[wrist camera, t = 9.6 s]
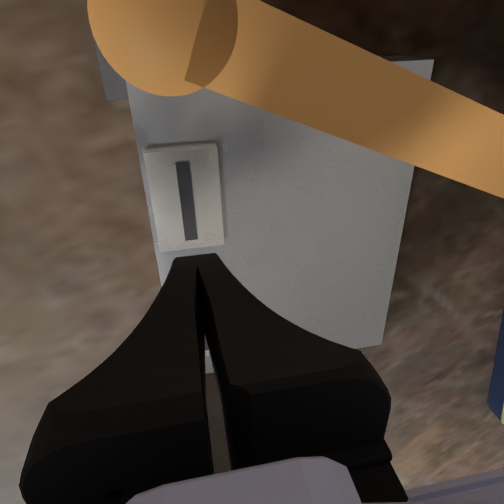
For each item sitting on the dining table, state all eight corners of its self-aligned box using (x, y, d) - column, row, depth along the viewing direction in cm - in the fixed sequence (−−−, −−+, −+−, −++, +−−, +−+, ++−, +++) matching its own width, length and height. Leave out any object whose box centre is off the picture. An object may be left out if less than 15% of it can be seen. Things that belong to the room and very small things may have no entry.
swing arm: (531, 116, 15) (577, 127, 14) (477, 199, 17) (513, 219, 15) (113, -87, 10) (103, -109, 8) (88, 61, 12) (75, 67, 10)
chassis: (361, 315, 24) (384, 348, 21) (176, 344, 22) (177, 383, 20) (399, 55, 17) (439, 60, 14) (130, 67, 15) (123, 75, 12)
